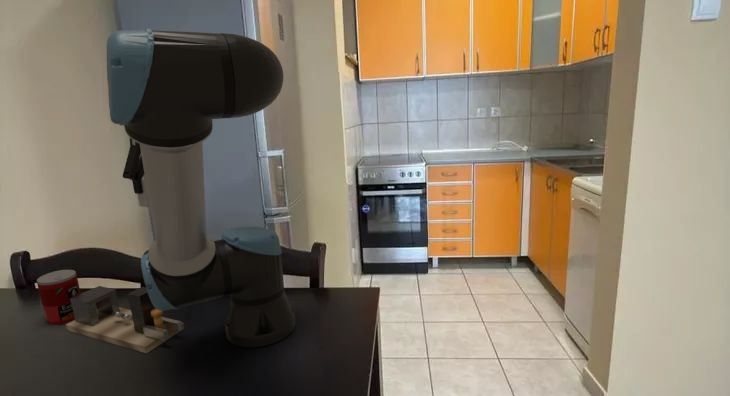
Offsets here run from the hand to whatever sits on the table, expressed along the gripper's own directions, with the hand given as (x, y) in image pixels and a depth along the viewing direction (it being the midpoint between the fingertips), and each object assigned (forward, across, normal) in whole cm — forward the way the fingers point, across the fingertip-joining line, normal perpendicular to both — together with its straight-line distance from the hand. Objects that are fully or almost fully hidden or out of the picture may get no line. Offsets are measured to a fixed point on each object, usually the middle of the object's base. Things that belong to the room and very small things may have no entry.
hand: (168, 199), depth 102 cm
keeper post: (+25, +17, +11) cm, 32 cm away
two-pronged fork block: (+25, +17, +6) cm, 31 cm away
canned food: (+27, +18, -20) cm, 38 cm away
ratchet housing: (+25, +17, -9) cm, 32 cm away
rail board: (+27, +17, +1) cm, 32 cm away
